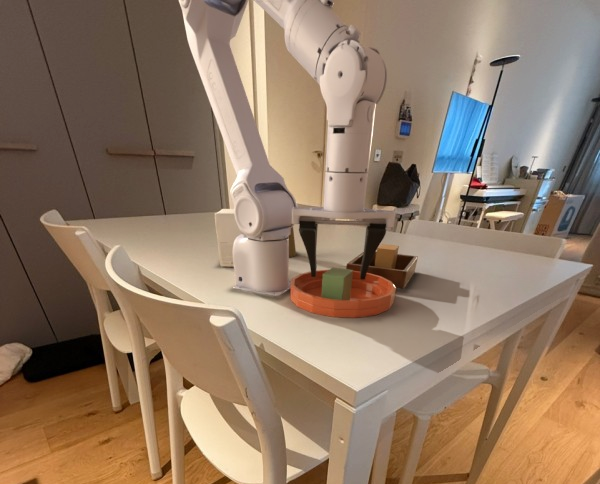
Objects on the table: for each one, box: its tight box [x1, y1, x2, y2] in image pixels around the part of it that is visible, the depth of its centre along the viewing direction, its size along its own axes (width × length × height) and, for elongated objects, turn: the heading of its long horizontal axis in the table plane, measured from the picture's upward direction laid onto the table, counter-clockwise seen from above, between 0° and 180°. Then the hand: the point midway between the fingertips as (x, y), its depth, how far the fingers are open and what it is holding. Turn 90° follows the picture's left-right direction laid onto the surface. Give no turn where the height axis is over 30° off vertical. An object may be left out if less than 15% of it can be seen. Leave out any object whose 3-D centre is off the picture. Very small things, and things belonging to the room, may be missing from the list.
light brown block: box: [375, 243, 400, 269], centre depth 69 cm, size 4×4×5 cm
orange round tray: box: [290, 268, 397, 319], centre depth 57 cm, size 17×17×3 cm
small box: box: [214, 208, 243, 268], centre depth 74 cm, size 8×6×10 cm
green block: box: [322, 267, 353, 300], centre depth 54 cm, size 4×4×5 cm
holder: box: [345, 251, 419, 290], centre depth 68 cm, size 11×13×4 cm
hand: (337, 276), depth 53 cm, fingers open, 7 cm apart
